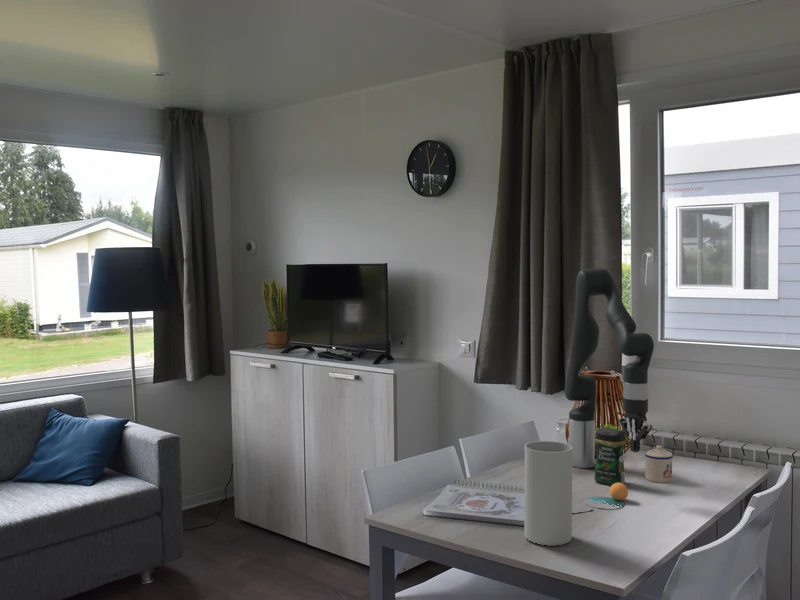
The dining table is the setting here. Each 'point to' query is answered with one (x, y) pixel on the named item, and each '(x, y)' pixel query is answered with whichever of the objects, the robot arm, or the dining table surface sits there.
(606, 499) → the teal mark
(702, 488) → the dining table surface
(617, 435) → the coffee jar
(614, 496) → the ball
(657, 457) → the teacup with lid
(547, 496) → the cylinder vase
